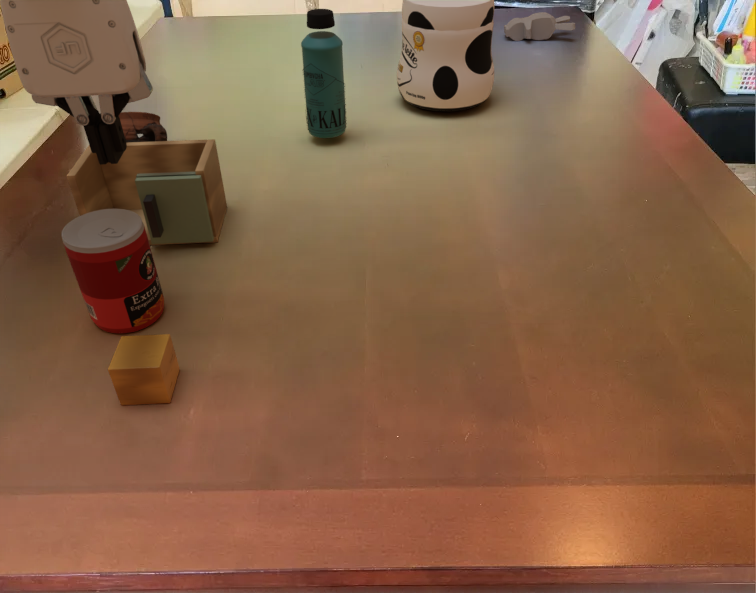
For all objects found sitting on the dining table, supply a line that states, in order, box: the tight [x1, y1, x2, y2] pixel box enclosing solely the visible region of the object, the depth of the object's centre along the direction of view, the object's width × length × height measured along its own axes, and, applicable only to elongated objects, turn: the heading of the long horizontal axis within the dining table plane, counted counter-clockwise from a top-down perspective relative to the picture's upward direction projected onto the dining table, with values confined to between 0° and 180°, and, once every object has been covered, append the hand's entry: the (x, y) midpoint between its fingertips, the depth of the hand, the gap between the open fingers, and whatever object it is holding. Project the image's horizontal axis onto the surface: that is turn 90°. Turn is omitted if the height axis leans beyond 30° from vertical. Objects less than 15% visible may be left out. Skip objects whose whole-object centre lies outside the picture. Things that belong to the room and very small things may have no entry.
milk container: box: [396, 0, 495, 112], centre depth 115 cm, size 17×17×18 cm
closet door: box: [135, 175, 214, 245], centre depth 79 cm, size 8×2×9 cm, turn 93°
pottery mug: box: [119, 111, 168, 143], centre depth 102 cm, size 12×10×8 cm
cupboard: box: [66, 139, 228, 246], centre depth 83 cm, size 16×9×10 cm, turn 93°
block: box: [107, 333, 181, 406], centre depth 61 cm, size 5×5×5 cm
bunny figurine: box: [503, 11, 576, 42], centre depth 149 cm, size 10×5×15 cm
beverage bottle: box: [300, 8, 348, 139], centre depth 102 cm, size 6×7×20 cm
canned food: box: [60, 209, 165, 334], centre depth 69 cm, size 8×8×11 cm
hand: (112, 158), depth 64 cm, fingers closed
